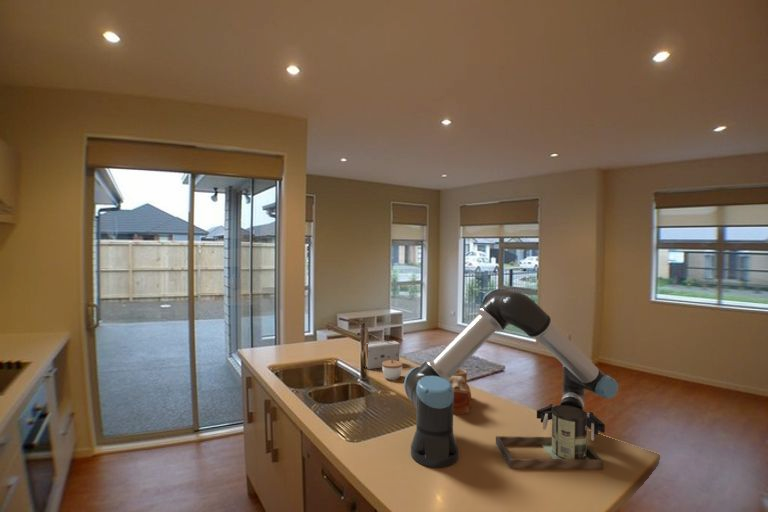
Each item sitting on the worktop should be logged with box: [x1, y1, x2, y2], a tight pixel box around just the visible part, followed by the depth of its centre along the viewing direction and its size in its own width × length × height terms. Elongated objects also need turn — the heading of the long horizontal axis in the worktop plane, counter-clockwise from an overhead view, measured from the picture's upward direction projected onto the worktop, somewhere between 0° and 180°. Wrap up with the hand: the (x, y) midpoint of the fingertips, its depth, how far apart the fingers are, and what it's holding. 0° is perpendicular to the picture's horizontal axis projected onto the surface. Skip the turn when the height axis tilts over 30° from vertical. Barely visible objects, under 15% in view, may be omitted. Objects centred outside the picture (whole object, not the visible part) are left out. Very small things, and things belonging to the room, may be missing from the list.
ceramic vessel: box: [449, 368, 472, 415], centre depth 158 cm, size 14×26×15 cm, turn 170°
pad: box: [541, 445, 589, 459], centre depth 119 cm, size 12×12×1 cm
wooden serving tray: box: [495, 435, 604, 470], centre depth 119 cm, size 28×15×2 cm, turn 90°
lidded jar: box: [381, 360, 403, 381], centre depth 192 cm, size 11×11×9 cm
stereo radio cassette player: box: [366, 333, 401, 370], centre depth 212 cm, size 21×8×20 cm, turn 115°
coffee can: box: [551, 404, 588, 459], centre depth 119 cm, size 10×10×14 cm
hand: (567, 430), depth 116 cm, fingers open, 13 cm apart
